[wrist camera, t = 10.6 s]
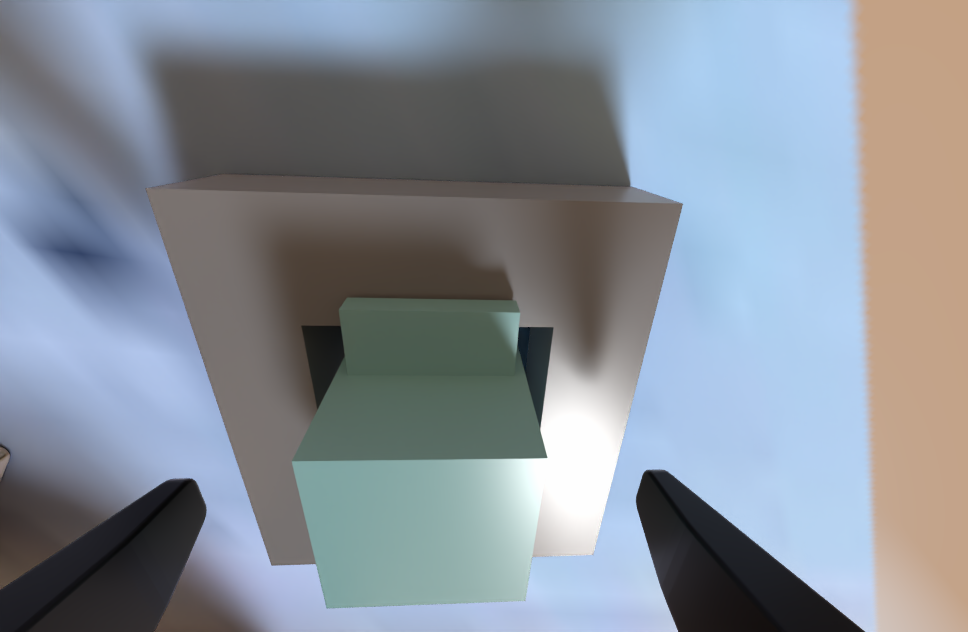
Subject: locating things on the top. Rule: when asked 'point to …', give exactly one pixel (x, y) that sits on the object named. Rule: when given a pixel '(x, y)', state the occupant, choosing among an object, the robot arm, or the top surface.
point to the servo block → (424, 457)
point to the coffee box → (3, 460)
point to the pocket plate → (417, 275)
